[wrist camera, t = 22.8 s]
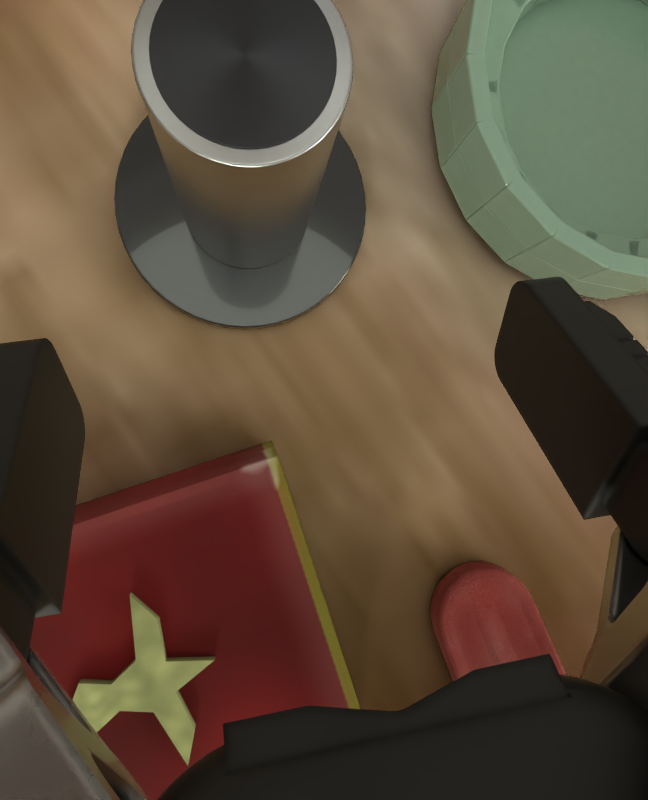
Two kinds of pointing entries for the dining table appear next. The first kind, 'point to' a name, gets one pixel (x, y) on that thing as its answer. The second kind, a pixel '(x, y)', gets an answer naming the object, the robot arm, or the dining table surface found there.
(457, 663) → the popsicle
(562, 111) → the bowl
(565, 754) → the robot arm
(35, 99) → the dining table surface
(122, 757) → the hardcover book
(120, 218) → the coaster
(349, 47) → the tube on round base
